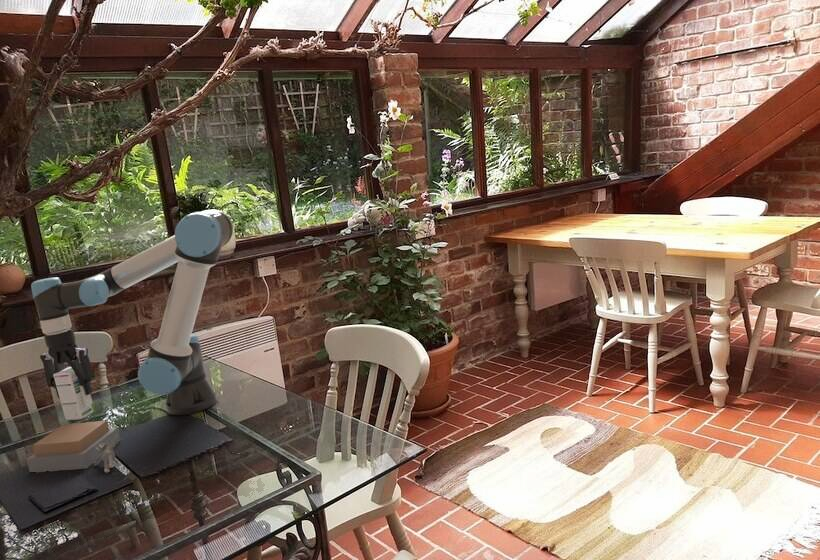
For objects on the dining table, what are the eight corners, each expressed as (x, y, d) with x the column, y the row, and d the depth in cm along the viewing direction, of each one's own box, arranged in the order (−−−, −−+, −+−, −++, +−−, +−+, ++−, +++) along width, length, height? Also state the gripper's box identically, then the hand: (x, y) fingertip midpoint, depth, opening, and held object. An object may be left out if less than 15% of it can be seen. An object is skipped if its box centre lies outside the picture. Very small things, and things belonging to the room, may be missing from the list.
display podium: (120, 440, 177) (115, 417, 176) (86, 468, 162) (80, 443, 160) (68, 445, 179) (62, 422, 178) (29, 472, 163) (23, 448, 162)
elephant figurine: (85, 479, 156) (83, 455, 163) (106, 487, 159) (104, 463, 166) (112, 450, 155) (109, 427, 162) (133, 458, 159) (129, 436, 166)
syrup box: (82, 419, 181) (69, 372, 179) (64, 420, 183) (52, 373, 180) (95, 411, 187) (83, 365, 184) (78, 412, 188) (66, 366, 186)
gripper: (96, 323, 183) (115, 398, 187) (36, 331, 185) (56, 404, 189) (80, 330, 175) (100, 407, 179) (18, 339, 178) (39, 415, 182)
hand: (77, 406), depth 184 cm, fingers closed on syrup box, 6 cm apart
